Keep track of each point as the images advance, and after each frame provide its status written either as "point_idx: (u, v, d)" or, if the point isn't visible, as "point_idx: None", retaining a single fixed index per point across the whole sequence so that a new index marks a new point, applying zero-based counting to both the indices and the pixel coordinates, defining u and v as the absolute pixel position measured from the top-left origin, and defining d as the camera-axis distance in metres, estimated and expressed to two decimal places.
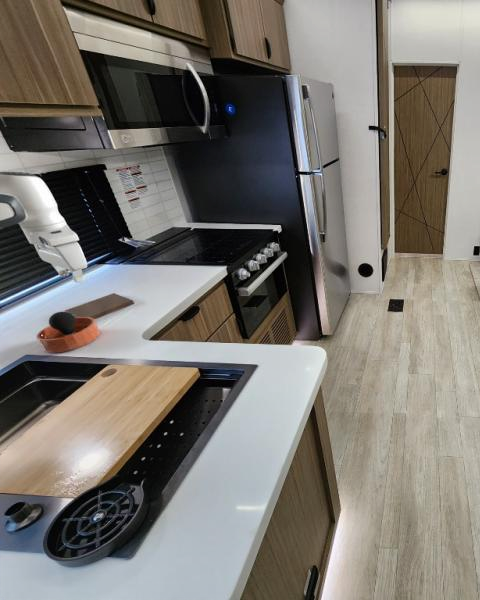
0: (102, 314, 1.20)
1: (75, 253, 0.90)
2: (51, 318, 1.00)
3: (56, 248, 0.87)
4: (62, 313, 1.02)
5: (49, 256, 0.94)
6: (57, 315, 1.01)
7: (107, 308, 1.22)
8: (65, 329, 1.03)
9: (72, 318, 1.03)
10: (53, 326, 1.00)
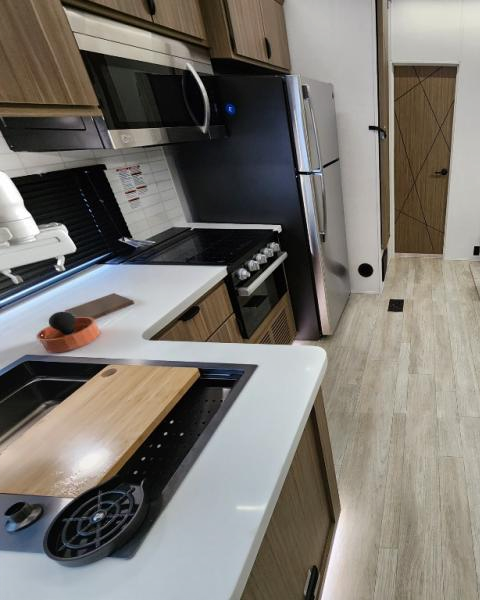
0: (102, 314, 1.20)
1: None
2: (51, 318, 1.00)
3: None
4: (62, 313, 1.02)
5: None
6: (57, 315, 1.01)
7: (107, 308, 1.22)
8: (65, 329, 1.03)
9: (72, 318, 1.03)
10: (53, 326, 1.00)
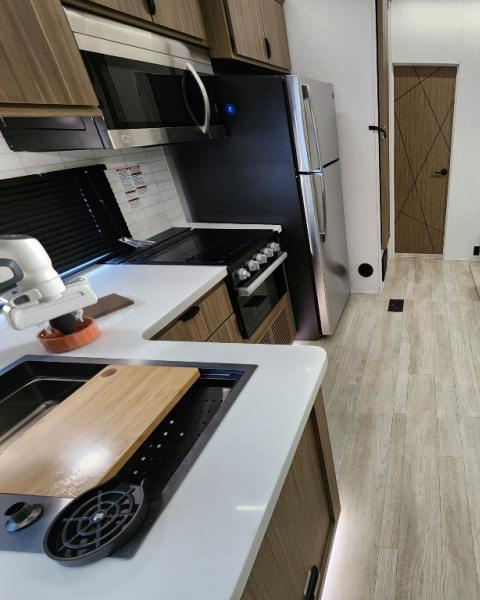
0: (102, 314, 1.20)
1: (7, 316, 0.92)
2: None
3: None
4: None
5: None
6: None
7: (107, 308, 1.22)
8: (65, 329, 1.03)
9: (72, 318, 1.03)
10: (53, 326, 1.00)
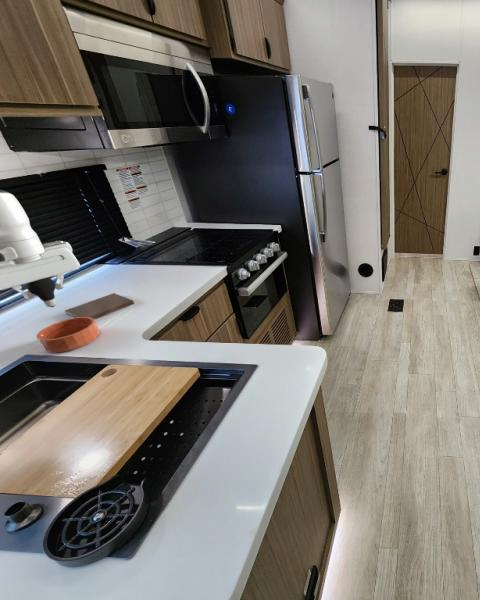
0: (102, 314, 1.20)
1: None
2: (29, 282, 0.94)
3: None
4: None
5: None
6: None
7: (107, 308, 1.22)
8: (44, 294, 0.97)
9: (52, 283, 0.97)
10: (31, 290, 0.95)
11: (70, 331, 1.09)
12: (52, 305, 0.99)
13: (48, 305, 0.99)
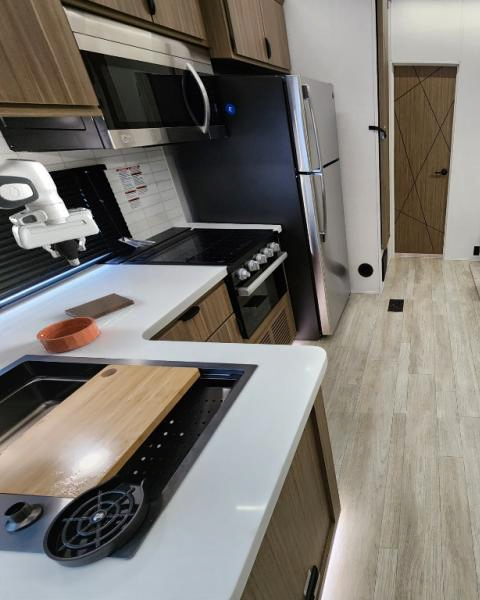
0: (102, 314, 1.20)
1: (16, 234, 1.00)
2: None
3: None
4: None
5: None
6: None
7: (107, 308, 1.22)
8: (69, 254, 1.11)
9: (75, 244, 1.12)
10: (58, 250, 1.09)
11: (70, 331, 1.09)
12: (76, 264, 1.14)
13: (72, 264, 1.13)
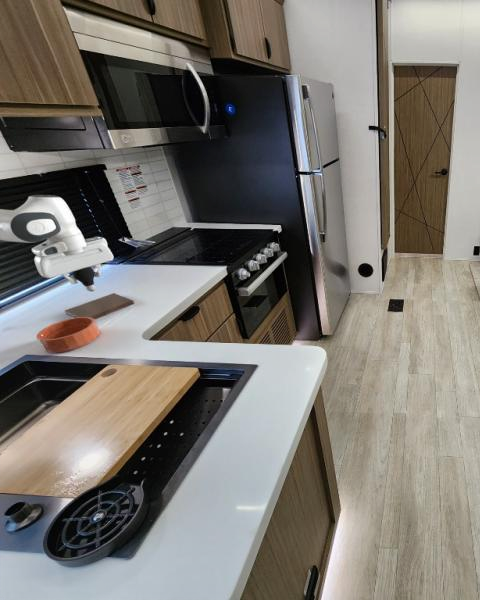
0: (102, 314, 1.20)
1: (38, 265, 1.07)
2: None
3: None
4: None
5: None
6: None
7: (107, 308, 1.22)
8: (86, 280, 1.18)
9: (92, 271, 1.19)
10: (76, 277, 1.16)
11: (70, 331, 1.09)
12: (92, 289, 1.21)
13: (89, 289, 1.20)
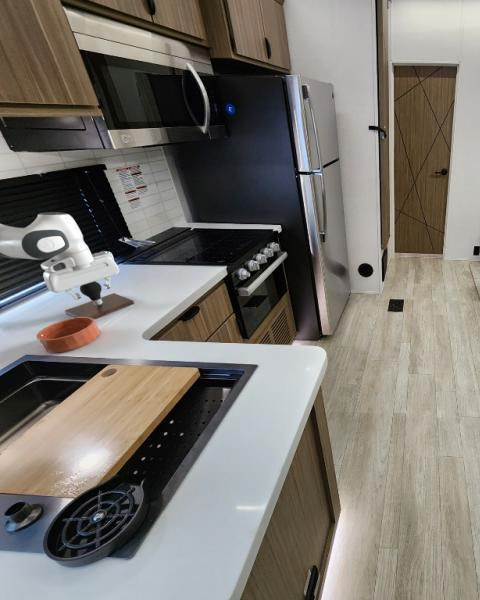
0: (102, 314, 1.20)
1: (47, 280, 1.10)
2: (82, 285, 1.18)
3: None
4: None
5: None
6: None
7: (107, 308, 1.22)
8: (93, 295, 1.21)
9: (99, 286, 1.21)
10: (83, 292, 1.19)
11: (70, 331, 1.09)
12: (99, 304, 1.23)
13: (96, 304, 1.23)
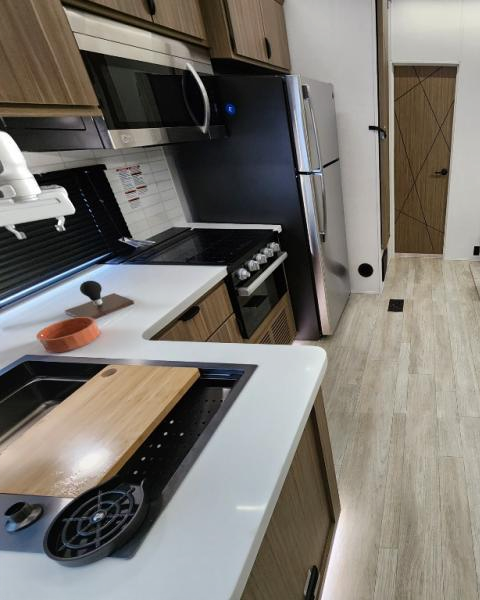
0: (102, 314, 1.20)
1: None
2: (82, 285, 1.18)
3: None
4: (91, 281, 1.20)
5: None
6: (87, 283, 1.19)
7: (107, 308, 1.22)
8: (93, 295, 1.21)
9: (99, 286, 1.21)
10: (84, 292, 1.19)
11: (70, 331, 1.09)
12: (99, 304, 1.23)
13: (96, 304, 1.23)
